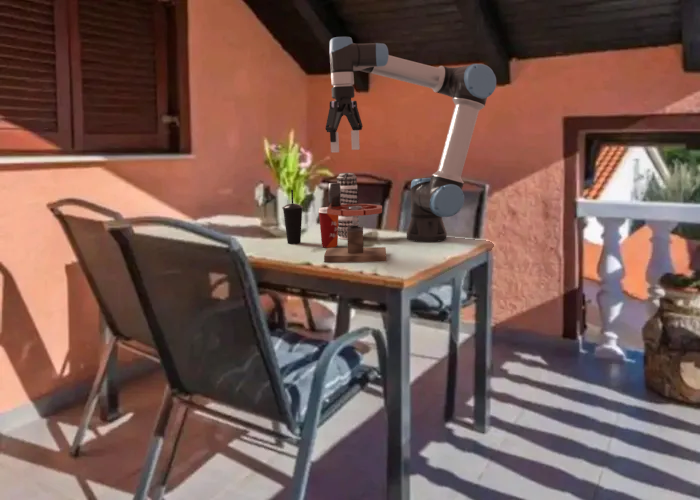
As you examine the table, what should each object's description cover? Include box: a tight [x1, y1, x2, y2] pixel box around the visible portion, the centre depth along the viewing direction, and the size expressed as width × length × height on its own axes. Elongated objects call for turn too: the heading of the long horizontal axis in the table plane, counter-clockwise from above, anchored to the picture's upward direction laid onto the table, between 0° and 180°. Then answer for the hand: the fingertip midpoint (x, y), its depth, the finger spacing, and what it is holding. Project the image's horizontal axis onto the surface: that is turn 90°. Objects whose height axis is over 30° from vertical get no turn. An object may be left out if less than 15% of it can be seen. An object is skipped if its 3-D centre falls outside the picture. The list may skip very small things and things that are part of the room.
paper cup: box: [318, 206, 339, 249], centre depth 242 cm, size 8×8×14 cm
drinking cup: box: [281, 189, 304, 245], centre depth 250 cm, size 8×8×20 cm
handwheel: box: [327, 182, 383, 228], centre depth 219 cm, size 18×18×15 cm
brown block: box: [323, 225, 387, 263], centre depth 222 cm, size 20×14×10 cm
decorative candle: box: [336, 172, 360, 241], centre depth 259 cm, size 9×9×25 cm
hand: (345, 151), depth 226 cm, fingers open, 13 cm apart
